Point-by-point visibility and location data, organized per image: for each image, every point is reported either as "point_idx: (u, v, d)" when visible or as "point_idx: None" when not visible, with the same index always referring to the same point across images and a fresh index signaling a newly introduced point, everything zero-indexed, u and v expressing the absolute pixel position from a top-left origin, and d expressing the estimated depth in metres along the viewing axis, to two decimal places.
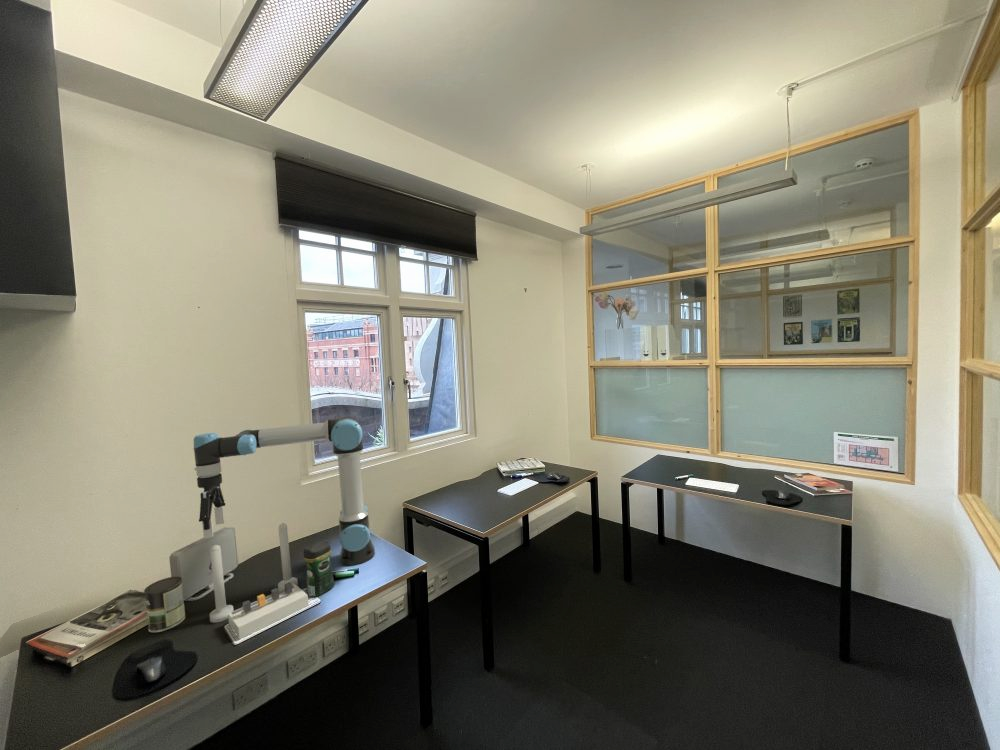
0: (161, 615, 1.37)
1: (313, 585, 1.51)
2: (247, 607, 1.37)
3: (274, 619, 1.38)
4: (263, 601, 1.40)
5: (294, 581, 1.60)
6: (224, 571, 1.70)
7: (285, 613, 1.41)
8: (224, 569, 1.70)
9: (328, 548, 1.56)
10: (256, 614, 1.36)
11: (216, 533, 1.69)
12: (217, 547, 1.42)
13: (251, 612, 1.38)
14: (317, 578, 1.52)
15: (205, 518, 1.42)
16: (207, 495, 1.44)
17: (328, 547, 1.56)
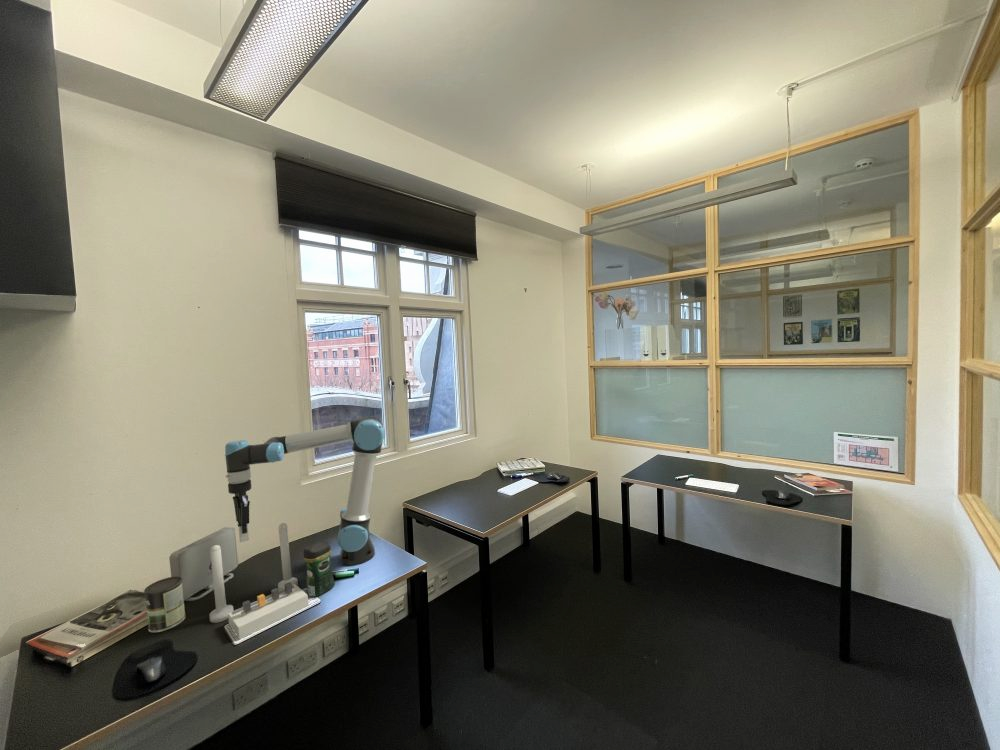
0: (161, 615, 1.37)
1: (313, 585, 1.51)
2: (247, 607, 1.37)
3: (274, 619, 1.38)
4: (263, 601, 1.40)
5: (294, 581, 1.60)
6: (224, 571, 1.70)
7: (285, 613, 1.41)
8: (224, 569, 1.70)
9: (327, 548, 1.56)
10: (256, 614, 1.36)
11: (216, 533, 1.69)
12: (217, 547, 1.42)
13: (251, 612, 1.38)
14: (317, 578, 1.52)
15: (247, 522, 1.54)
16: (248, 504, 1.52)
17: (328, 547, 1.56)
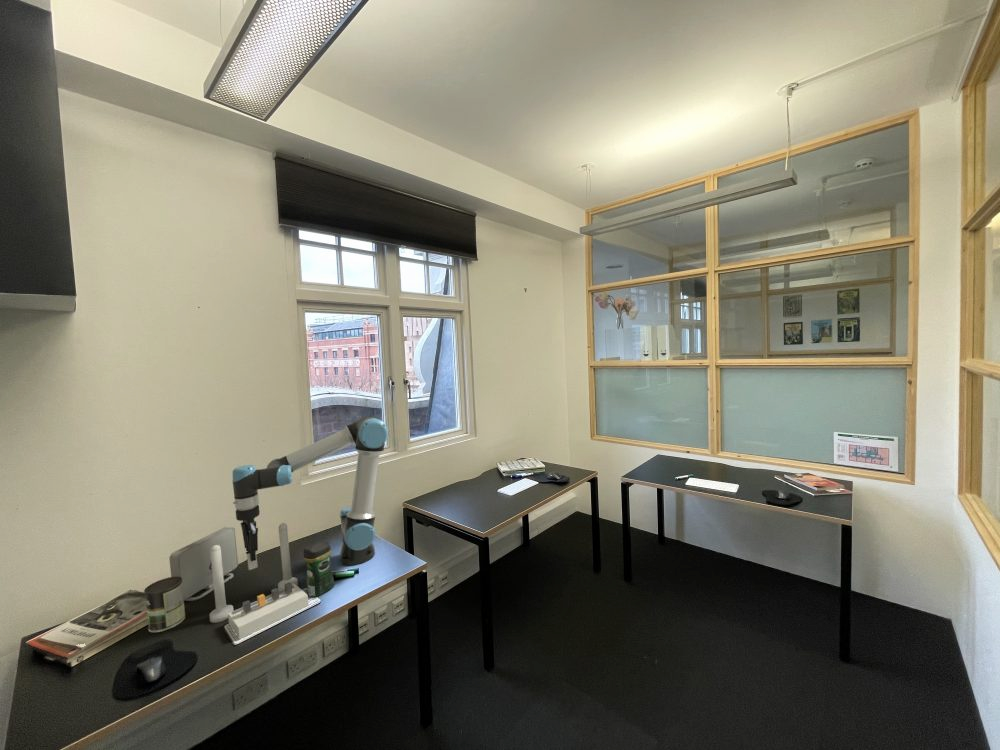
0: (161, 615, 1.37)
1: (313, 585, 1.51)
2: (247, 607, 1.37)
3: (274, 619, 1.38)
4: (263, 601, 1.40)
5: (294, 581, 1.60)
6: (224, 571, 1.70)
7: (285, 613, 1.41)
8: (224, 569, 1.70)
9: (328, 548, 1.56)
10: (256, 614, 1.36)
11: (216, 533, 1.69)
12: (217, 547, 1.42)
13: (251, 612, 1.38)
14: (317, 578, 1.52)
15: (255, 549, 1.50)
16: (256, 531, 1.48)
17: (328, 547, 1.56)
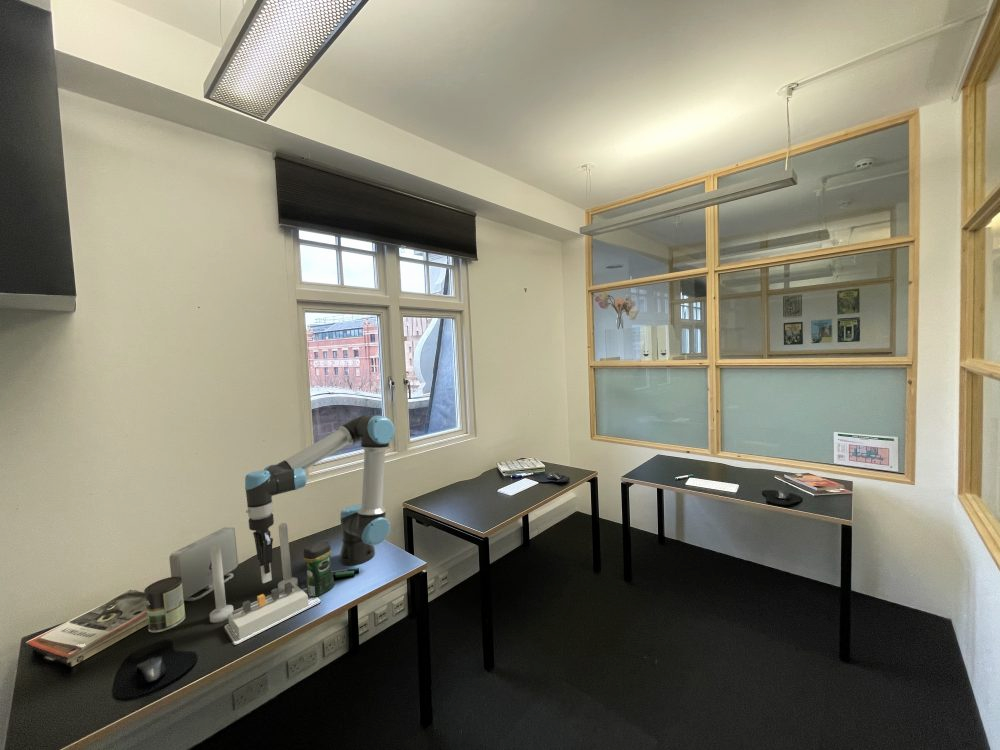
0: (161, 615, 1.37)
1: (313, 585, 1.51)
2: (247, 607, 1.37)
3: (274, 619, 1.38)
4: (263, 601, 1.40)
5: (294, 581, 1.60)
6: (224, 571, 1.70)
7: (285, 613, 1.41)
8: (224, 569, 1.70)
9: (328, 548, 1.56)
10: (256, 614, 1.36)
11: (216, 533, 1.69)
12: (217, 547, 1.42)
13: (251, 612, 1.38)
14: (317, 578, 1.52)
15: (270, 561, 1.40)
16: (271, 542, 1.38)
17: (328, 547, 1.56)
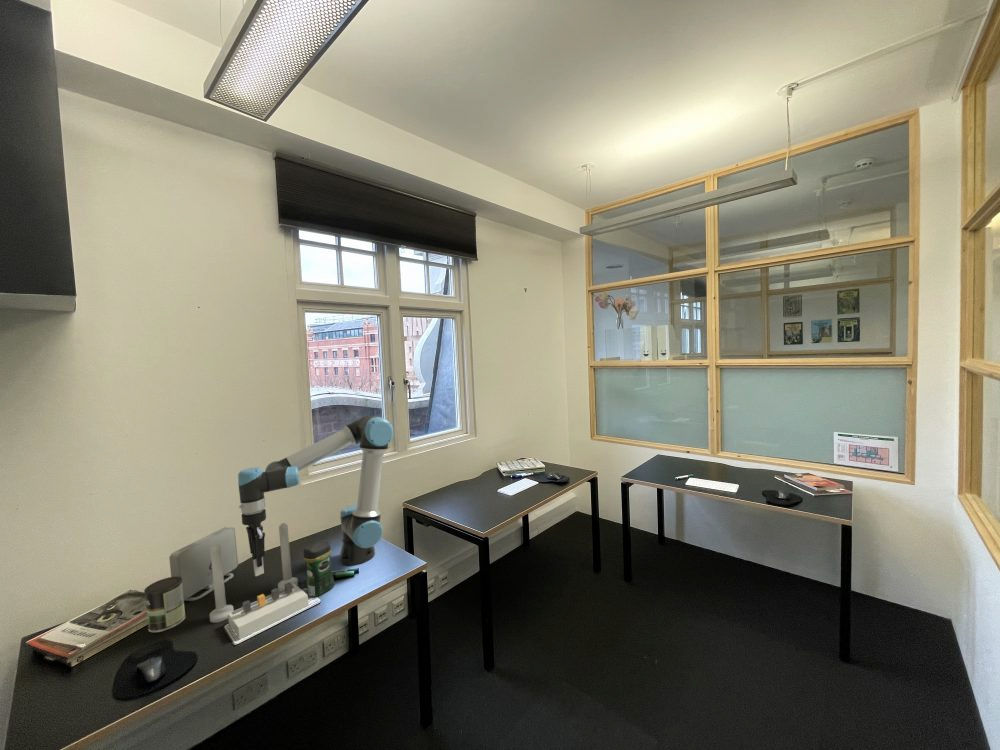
0: (161, 615, 1.37)
1: (313, 585, 1.51)
2: (247, 607, 1.37)
3: (274, 619, 1.38)
4: (263, 601, 1.40)
5: (294, 581, 1.60)
6: (224, 571, 1.70)
7: (285, 613, 1.41)
8: (224, 569, 1.70)
9: (328, 548, 1.56)
10: (256, 614, 1.36)
11: (216, 533, 1.69)
12: (217, 547, 1.42)
13: (251, 612, 1.38)
14: (317, 578, 1.52)
15: (262, 554, 1.45)
16: (263, 536, 1.43)
17: (328, 547, 1.56)
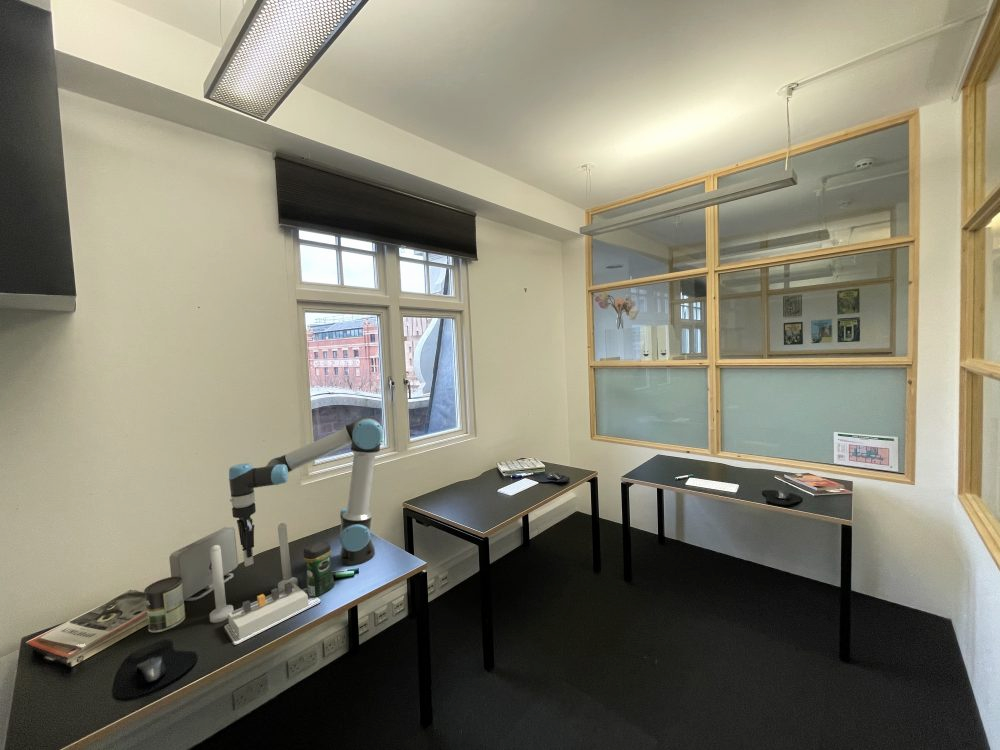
0: (161, 615, 1.37)
1: (313, 585, 1.51)
2: (247, 607, 1.37)
3: (274, 619, 1.38)
4: (263, 601, 1.40)
5: (294, 581, 1.60)
6: (224, 571, 1.70)
7: (285, 613, 1.41)
8: (224, 569, 1.70)
9: (328, 548, 1.56)
10: (256, 614, 1.36)
11: (216, 533, 1.69)
12: (217, 547, 1.42)
13: (251, 612, 1.38)
14: (317, 578, 1.52)
15: (252, 546, 1.53)
16: (253, 528, 1.51)
17: (328, 547, 1.56)
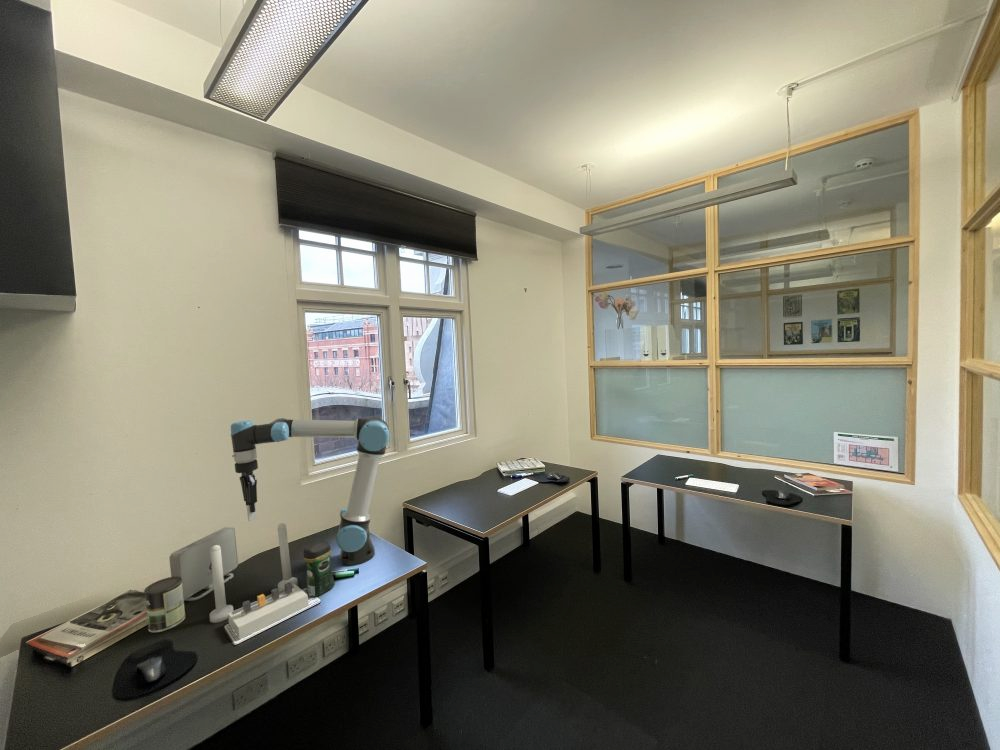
0: (161, 615, 1.37)
1: (313, 585, 1.51)
2: (247, 607, 1.37)
3: (274, 619, 1.38)
4: (263, 601, 1.40)
5: (294, 581, 1.60)
6: (224, 571, 1.70)
7: (285, 613, 1.41)
8: (224, 569, 1.70)
9: (328, 548, 1.56)
10: (256, 614, 1.36)
11: (216, 533, 1.69)
12: (217, 547, 1.42)
13: (251, 612, 1.38)
14: (317, 578, 1.52)
15: (255, 500, 1.55)
16: (255, 483, 1.54)
17: (328, 547, 1.56)
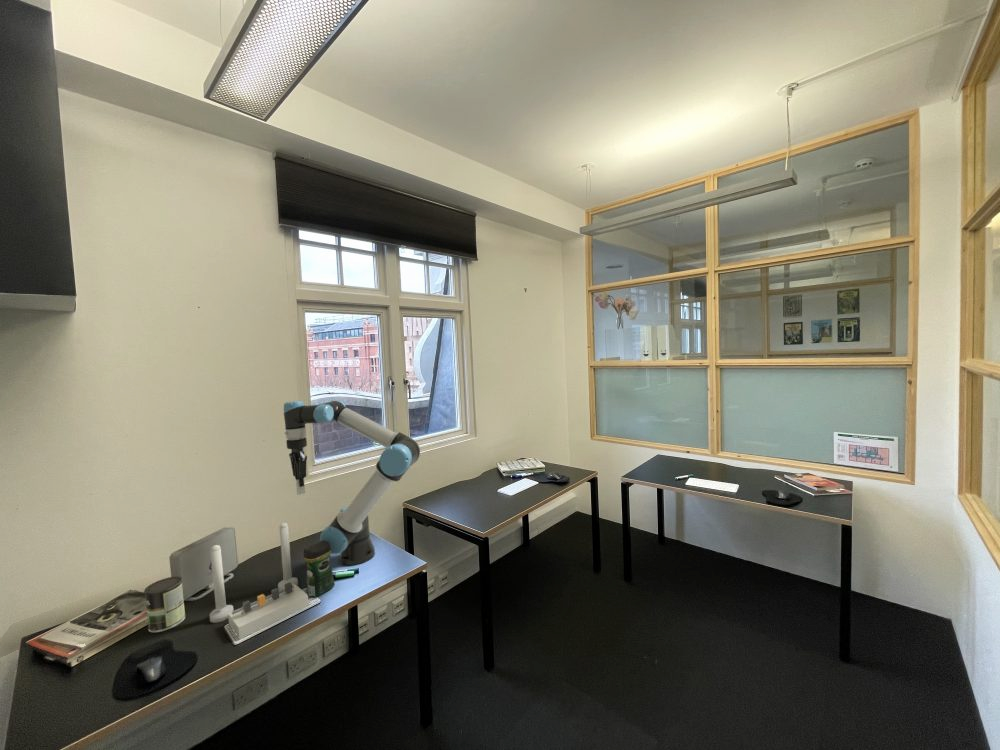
0: (161, 615, 1.37)
1: (313, 585, 1.51)
2: (247, 607, 1.37)
3: (274, 619, 1.38)
4: (263, 601, 1.40)
5: (294, 581, 1.60)
6: (224, 571, 1.70)
7: (285, 613, 1.41)
8: (224, 569, 1.70)
9: (328, 548, 1.56)
10: (256, 614, 1.36)
11: (216, 533, 1.69)
12: (217, 547, 1.42)
13: (251, 612, 1.38)
14: (317, 578, 1.52)
15: (304, 475, 1.66)
16: (305, 459, 1.65)
17: (328, 547, 1.56)
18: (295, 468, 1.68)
